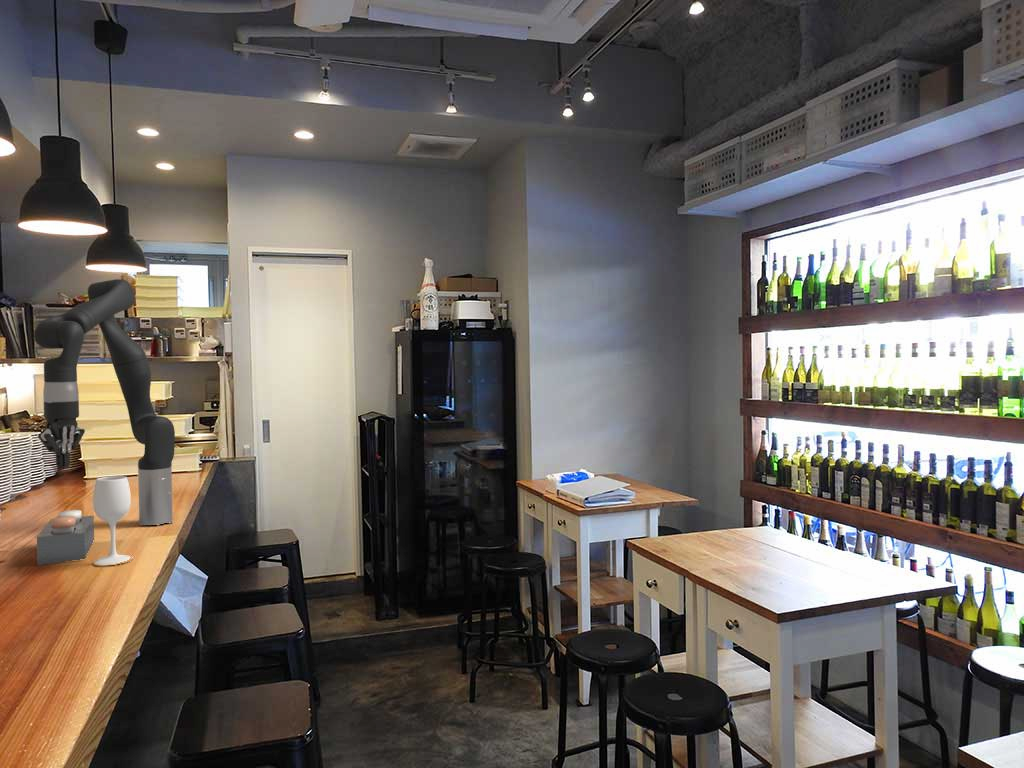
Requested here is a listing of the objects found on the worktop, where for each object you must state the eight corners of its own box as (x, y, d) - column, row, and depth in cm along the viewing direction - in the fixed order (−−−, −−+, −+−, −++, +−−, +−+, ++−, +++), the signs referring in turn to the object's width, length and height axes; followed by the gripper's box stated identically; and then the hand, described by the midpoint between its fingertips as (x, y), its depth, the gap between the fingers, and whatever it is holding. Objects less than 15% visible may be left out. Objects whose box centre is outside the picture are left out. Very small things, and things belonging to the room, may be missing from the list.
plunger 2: (77, 542, 182) (76, 515, 182) (74, 547, 177) (74, 519, 177) (53, 544, 180) (53, 517, 179) (50, 549, 175) (49, 521, 175)
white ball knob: (83, 534, 193) (82, 509, 192) (80, 539, 188) (80, 513, 188) (60, 536, 190) (60, 511, 190) (57, 541, 186) (57, 514, 186)
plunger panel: (94, 540, 196) (93, 515, 196) (84, 560, 176) (84, 532, 176) (51, 544, 192) (51, 519, 191) (37, 565, 172) (36, 537, 172)
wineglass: (124, 555, 181) (122, 474, 180) (139, 561, 176) (137, 477, 175) (87, 562, 174) (85, 478, 174) (101, 569, 169) (99, 482, 168)
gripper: (68, 398, 185) (70, 463, 185) (26, 401, 172) (28, 471, 172) (94, 398, 184) (95, 464, 184) (53, 401, 170) (55, 472, 171)
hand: (63, 467), depth 178 cm, fingers closed
